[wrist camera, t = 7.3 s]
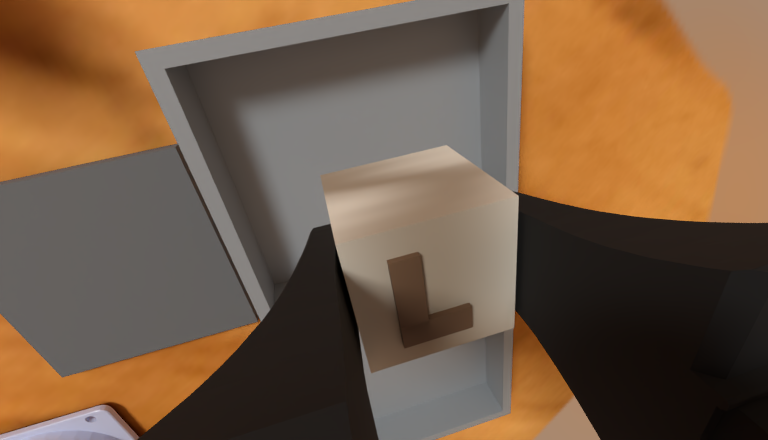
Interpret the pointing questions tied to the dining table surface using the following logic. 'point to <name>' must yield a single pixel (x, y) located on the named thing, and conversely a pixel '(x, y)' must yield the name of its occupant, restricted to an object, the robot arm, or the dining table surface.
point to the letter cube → (424, 252)
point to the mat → (114, 261)
